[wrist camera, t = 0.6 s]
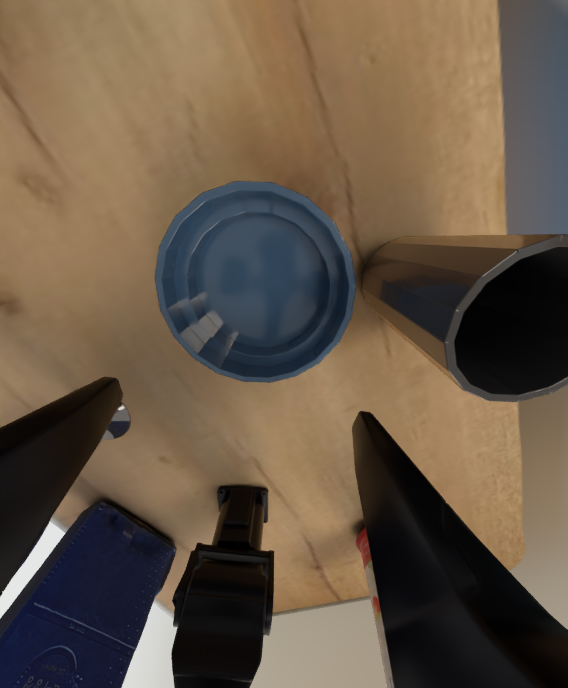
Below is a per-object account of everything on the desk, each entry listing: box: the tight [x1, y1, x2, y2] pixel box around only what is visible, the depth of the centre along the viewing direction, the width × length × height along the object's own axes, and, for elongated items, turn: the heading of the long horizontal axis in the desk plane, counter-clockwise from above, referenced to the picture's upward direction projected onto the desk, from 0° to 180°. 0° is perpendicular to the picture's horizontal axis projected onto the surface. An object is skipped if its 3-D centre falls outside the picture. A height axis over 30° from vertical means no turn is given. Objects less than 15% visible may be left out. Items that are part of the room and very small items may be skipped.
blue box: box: [0, 501, 176, 688], centre depth 26 cm, size 14×5×20 cm, turn 38°
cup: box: [362, 234, 568, 402], centre depth 15 cm, size 7×7×12 cm
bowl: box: [155, 181, 356, 383], centre depth 19 cm, size 14×14×4 cm
